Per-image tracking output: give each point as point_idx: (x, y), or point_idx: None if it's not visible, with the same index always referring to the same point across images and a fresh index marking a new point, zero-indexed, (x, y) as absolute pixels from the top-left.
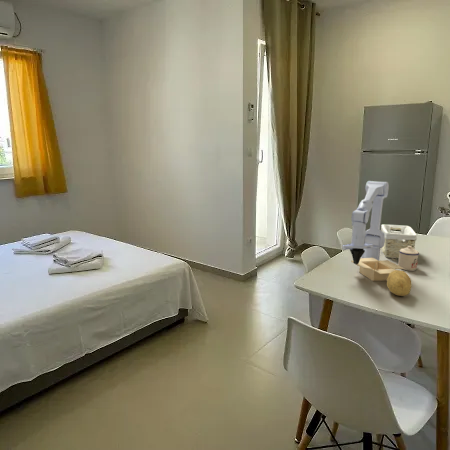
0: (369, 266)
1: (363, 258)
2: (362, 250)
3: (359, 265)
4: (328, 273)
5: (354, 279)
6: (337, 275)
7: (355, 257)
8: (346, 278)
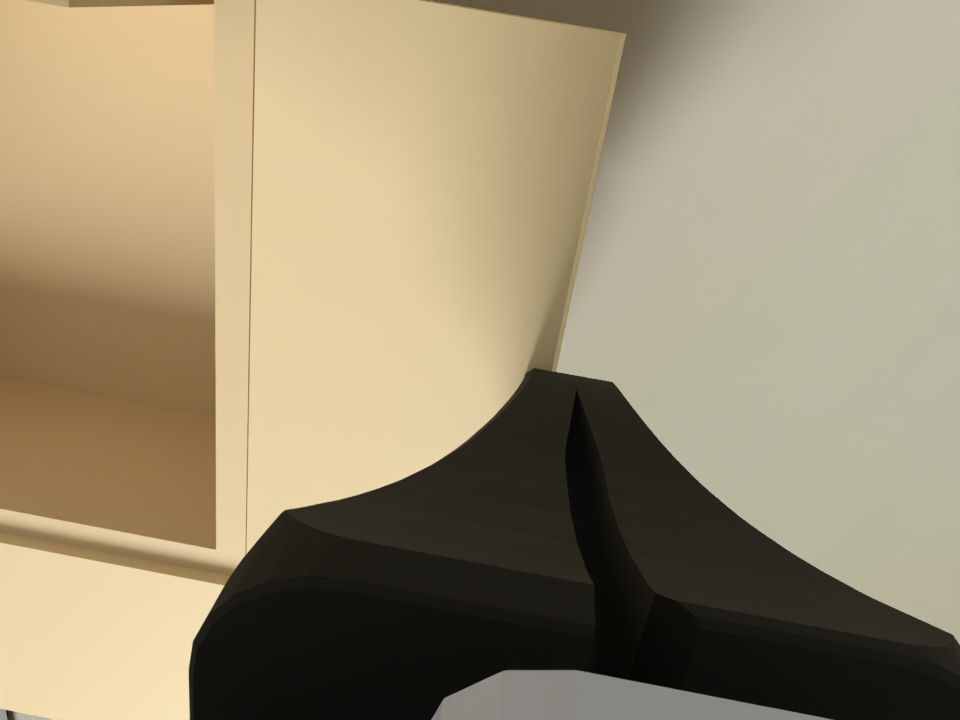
0: (75, 452)
1: (48, 703)
2: (399, 648)
3: (574, 263)
4: (909, 581)
5: (679, 164)
6: (834, 455)
7: (716, 502)
8: (797, 268)
